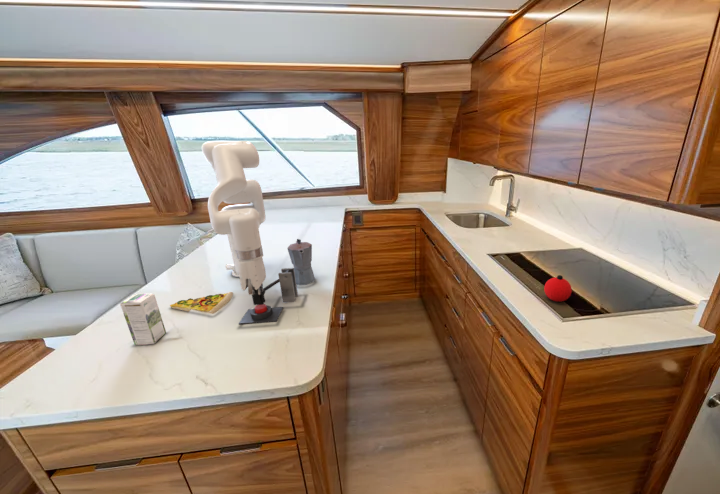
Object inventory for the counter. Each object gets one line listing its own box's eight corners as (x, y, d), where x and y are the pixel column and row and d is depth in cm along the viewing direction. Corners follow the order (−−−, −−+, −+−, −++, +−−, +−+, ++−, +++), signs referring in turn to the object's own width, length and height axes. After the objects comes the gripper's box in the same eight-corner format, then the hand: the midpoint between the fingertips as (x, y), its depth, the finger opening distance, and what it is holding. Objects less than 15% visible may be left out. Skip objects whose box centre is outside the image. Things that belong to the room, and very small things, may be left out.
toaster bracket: (274, 308, 108) (268, 276, 104) (280, 296, 116) (275, 266, 112) (302, 306, 109) (297, 275, 105) (306, 295, 117) (302, 265, 113)
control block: (239, 328, 97) (237, 318, 96) (249, 313, 105) (247, 304, 104) (277, 325, 98) (275, 315, 97) (284, 310, 106) (282, 302, 105)
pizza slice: (218, 316, 104) (216, 308, 103) (156, 319, 102) (153, 312, 101) (237, 295, 118) (236, 288, 117) (183, 297, 117) (181, 290, 116)
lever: (258, 299, 109) (252, 293, 108) (261, 295, 112) (255, 288, 111) (291, 278, 108) (286, 271, 107) (293, 274, 111) (288, 268, 110)
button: (253, 314, 99) (252, 309, 98) (257, 308, 102) (256, 304, 101) (265, 313, 99) (264, 308, 98) (268, 307, 102) (267, 303, 102)
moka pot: (295, 292, 119) (288, 245, 113) (290, 278, 132) (283, 235, 125) (319, 287, 123) (314, 241, 117) (311, 274, 136) (306, 232, 130)
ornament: (571, 308, 106) (576, 282, 102) (543, 303, 109) (547, 279, 105) (567, 296, 114) (572, 272, 110) (541, 292, 116) (545, 269, 113)
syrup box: (148, 334, 94) (133, 293, 89) (167, 333, 95) (154, 292, 90) (134, 345, 89) (118, 303, 84) (155, 344, 89) (140, 302, 84)
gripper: (245, 245, 100) (255, 293, 107) (227, 262, 86) (239, 316, 93) (269, 244, 101) (277, 292, 107) (254, 261, 87) (264, 315, 93)
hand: (259, 303), depth 100 cm, fingers closed
